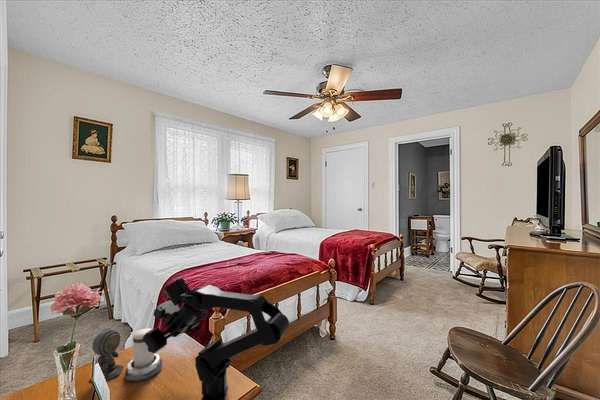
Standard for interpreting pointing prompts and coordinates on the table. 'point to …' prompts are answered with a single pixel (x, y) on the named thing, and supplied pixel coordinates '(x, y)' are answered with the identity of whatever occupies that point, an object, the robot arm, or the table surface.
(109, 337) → the figurine
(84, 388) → the table surface
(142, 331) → the white domed cylinder
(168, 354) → the table surface
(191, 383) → the table surface
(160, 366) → the mount
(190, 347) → the table surface
